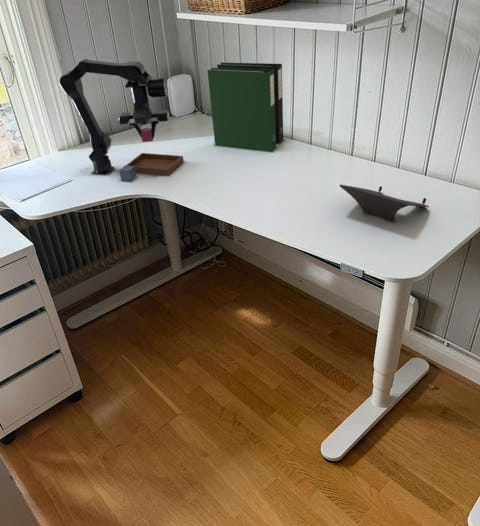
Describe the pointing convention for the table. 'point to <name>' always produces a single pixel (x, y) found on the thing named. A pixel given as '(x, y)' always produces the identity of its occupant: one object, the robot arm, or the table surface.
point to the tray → (156, 163)
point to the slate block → (128, 173)
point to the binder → (247, 105)
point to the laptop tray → (379, 202)
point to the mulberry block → (146, 135)
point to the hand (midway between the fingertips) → (148, 138)
